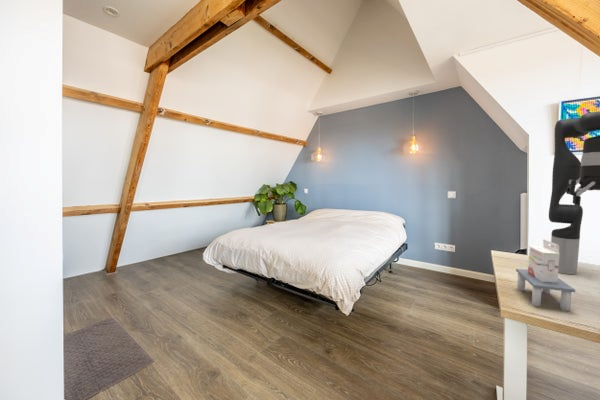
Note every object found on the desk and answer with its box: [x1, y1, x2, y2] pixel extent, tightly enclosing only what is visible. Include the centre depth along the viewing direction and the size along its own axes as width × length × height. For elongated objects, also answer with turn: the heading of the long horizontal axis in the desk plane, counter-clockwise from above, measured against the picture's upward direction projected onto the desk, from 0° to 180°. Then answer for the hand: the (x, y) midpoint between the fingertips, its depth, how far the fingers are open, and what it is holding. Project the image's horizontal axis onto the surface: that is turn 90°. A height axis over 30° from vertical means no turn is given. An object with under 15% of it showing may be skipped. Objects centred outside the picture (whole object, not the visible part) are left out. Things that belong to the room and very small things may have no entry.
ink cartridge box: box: [527, 239, 560, 283], centre depth 92 cm, size 9×5×15 cm, turn 165°
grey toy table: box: [515, 268, 576, 312], centre depth 93 cm, size 16×11×8 cm
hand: (592, 205), depth 93 cm, fingers open, 8 cm apart
